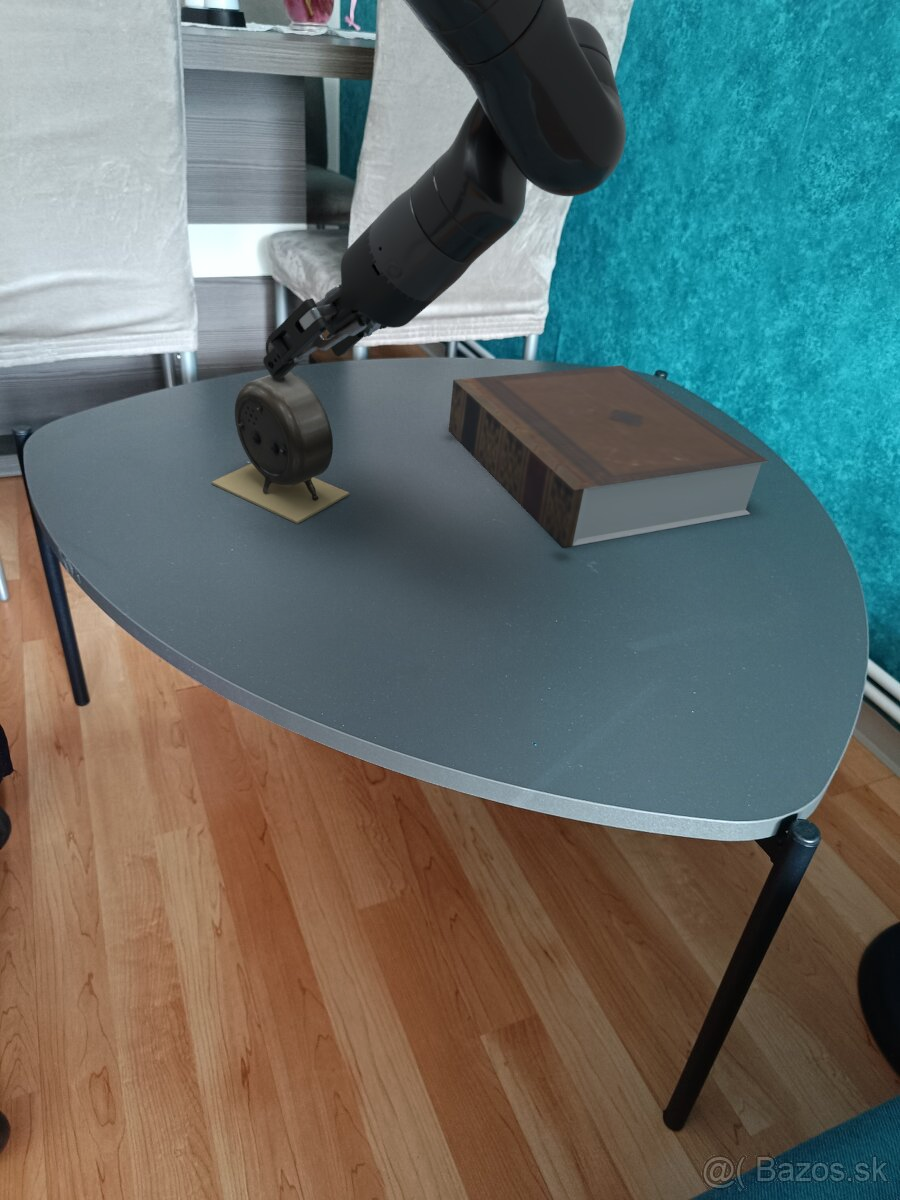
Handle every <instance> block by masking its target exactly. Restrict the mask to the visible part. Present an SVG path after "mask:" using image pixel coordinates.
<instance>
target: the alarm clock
mask: <svg viewBox="0 0 900 1200" xmlns="http://www.w3.org/2000/svg"><path fill="white" fill-rule="evenodd" d="M270 344H271V343H270V341H269V339H268V338H267V339H266V342H265V353H266V355H267V354H268V353H269V352H270V350H269V349H270V348H269V347H270ZM234 420H235V428H236V432H237V435H238V437H239V441H240V443H241V446H242V448H243V450H244V453H245V454H246V456H247V458H248V459H249V461H250V462H251V463H252V464H253V465H254V466H255V468H256V469H257V470H258V471H259V472H260V473H261V474H262V475H263V476H264V477H265V483H264V487H263V493H266V492H267V491H268V488H269V486H270V483H275V484H277V485H280V486H286V487H289V486H294V485H296V484H299V483H301V482H304V483H305V484H306V486H307V488H308V490H309V492H310V493H311V494H312V499H313V500H314V501H316V500H318V499H319V497H318V496H317V495H316V491H315V487H314V485H313V483H312V481H311V479H312V478H313V477H314V478H315V477H318V476H320V475H322V474H323V473H325V472H326V471H327V469H328V468H329V466H330V464H331V461H332V457H333V451H334V450H333V449H334V440H333V439H334V437H333V432H332V428H331V423H330V421H329V417H328V415H327V412H326V410H325V408H324V406H323V403H322V402H321V400H320V398H319V397H318V395H317V393H316V392H315V391H314V390H313V388H312V387H311V385H309V384H308V383H307V382H306V381H305V380H304V379H303V378H301V377H299V376H298V375H297V374H295V373H294V372H291V371H289V372H288V373H287V374H286V375H285V376H284V377H283V378H281V379H278V380H275V379H273V377H272V376H271V374H268V375H265V376H262V377H258V378H256V379H253V380H250V381H248V382H246V383H245V384H244V385H243V386H242V387H241V388H240V390H239V392H238V393H237V396H236V399H235V403H234Z"/></svg>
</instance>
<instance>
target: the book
mask: <svg viewBox="0 0 900 1200" xmlns="http://www.w3.org/2000/svg"><path fill="white" fill-rule="evenodd" d="M448 422H449V423H448V431H449V432H450V434H451V435H452V436H454V438H455V439H457V441H458V442H459V443H460V444H461V445H462V446H463V447H464V448H465V449H466V450H467V451H468V452H469V453H470V454H471V455H472V456H473V457H474V458H475V459H476V460H477V461H478V462H479V463H480V464H481V465H482V466H483V467H484V469H486V471H487V472H488V473H489V474H491V476H492V477H493V478H494V479H495V480H496V481H497V482H498V483H500V485H501V486H502V487H503V488H504V489H505V490H506V491H507V492H508V493H509V494H510V495H511V497H513V498H514V499H515V500H516V501H517V502H518V503H519V504H520V506H522V507H523V509H524V510H526V512H527V513H528V514H529V515H530V516H531V517H532V518H533V519H534V520H535V521H536V522H537V523H538V524H539V525H540V527H542V528H543V529H544V530H545V531H546V532H547V533H548V534H549V535H550V536H551V538H553V539H554V540H555V541H556V543H557V544H558V545H559V546H561V548H562V549H563V548H569V547H575V546H581V545H586V544H591V543H597V542H602V541H609V540H614V539H620V538H625V537H630V536H637V535H641V534H647V533H653V532H658V531H664V530H671V529H675V528H681V527H685V526H686V527H687V526H693V525H698V524H703V523H707V522H708V523H709V522H715V521H719V520H726V519H730V518H735V517H742V516H746V515H748V516H749V515H751V513H750V512H749V511H748V510H747V507H748V505H749V502H750V498H751V496H752V492H753V489H754V486H755V483H756V481H757V477H758V475H759V472H760V471H761V470H760V469H761V467H762V465H763V464H765V463H768V462H769V460H768V459H767V458H765V457H763V456H762V455H760V454H759V453H757V451H754V450H753V449H752V448H750V447H748V446H746V445H745V444H744V443H742V442H741V441H740V440H738V439H737V438H734V437H733V436H732V435H730V434H728V433H727V432H725V431H724V430H723V429H720V427H718V426H716V425H715V424H714V423H711V422H710V421H709V420H708V419H705V418H704V417H702V416H701V415H699V414H698V413H696V412H695V411H693V410H692V409H690V408H689V407H687V406H686V405H684V404H682V403H681V402H680V401H678V400H676V399H675V398H673V397H671V396H670V395H669V394H667V393H666V392H664V391H662V390H661V389H660V388H658V387H656V386H655V385H654V384H652V383H650V382H648V380H646V379H644V378H643V377H641V376H640V375H638V374H636V373H635V372H633V371H632V370H630V369H629V368H628V367H626V366H624V365H623V364H621V365H610V366H599V367H597V366H596V367H588V368H586V367H585V368H574V369H573V368H572V369H563V370H552V371H541V372H540V371H539V372H528V373H516V374H515V373H514V374H504V375H491V376H481V377H480V376H479V377H469V378H458V379H457V378H455V379H453V380H452V392H451V402H450V412H449V421H448Z"/></svg>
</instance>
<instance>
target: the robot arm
mask: <svg viewBox="0 0 900 1200" xmlns="http://www.w3.org/2000/svg"><path fill="white" fill-rule="evenodd" d="M403 2H404V3H405V5H407V7H408V8H409V10H410V11H411V12H412V13H413V15H414V16H415V17H416V18H417V20H418V21H419V22H420V24H421V25H422V27H424V29H425V30H426V31H427V32H428V34H429V35H430V36H431V38H433V40H434V41H435V43H436V44H437V45H438V46H439V47H440V48H441V50H442V51H443V52H444V53H445V54H446V56H447V57H448V59H449V60H450V61H451V62H452V63H453V64H454V65H455V66H456V68H457V69H458V70H459V71H460V72H461V73H462V74H463V75H464V77H465V78H466V80H467V81H468V83H469V84H470V86H471V88H472V90H473V91H474V93H475V95H476V99H475V101H474V103H473V105H472V106H471V108H470V109H469V111H468V113H467V115H466V117H465V118H464V120H463V122H462V124H461V126H460V128H459V130H458V133H457V135H456V136H455V138H454V140H453V142H452V143H451V145H450V146H449V147H448V148H447V150H446V151H445V152H444V153H443V154H442V155H440V156H439V158H437V159H436V161H435V162H433V163H432V165H431V166H430V167H428V169H427V170H425V172H424V173H423V174H422V175H421V176H420V177H419V178H418V179H417V180H416V181H415V182H414V184H413V185H411V186H410V187H409V188H408V189H406V190H405V191H404V192H401V194H400V195H398V196H397V197H396V198H395V199H394V200H393V201H392V202H390V203H389V205H388V206H386V208H385V209H384V210H383V211H382V212H381V213H380V214H379V215H378V216H377V217H376V218H375V219H374V221H372V223H370V225H369V226H368V227H367V228H366V229H365V230H364V231H363V232H362V233H361V234H360V235H359V236H358V237H357V239H356V240H354V241H353V243H352V244H351V245H350V246H349V247H348V248H347V249H346V250H345V251H344V253H343V255H342V256H341V257H342V258H341V261H340V284H338V285H335V286H334V287H333V288H331V289H329V290H328V291H327V292H326V293H325V295H324V297H323V298H322V299H321V300H319V301H318V302H316V301H315V300H314V298H312V297H311V298H307V299H305V300H304V301H302V303H301V304H300V305H299V306H298V307H297V308H296V309H295V310H294V311H293V312H292V313H291V314H290V315H289V316H288V317H287V318H286V319H285V320H284V321H283V322H282V323H280V325H279V326H278V327H276V329H275V330H274V331H273V332H271V333H270V334H269V336H268V337H267V339H269V341H270V343H269V344H271V345H272V347H273V348H272V349H271V350H269V353H268V354H266V355H264V357H263V365H264V366H265V368H266V369H267V371H268V373H269V375H271V376H272V377H273V379H275V380H278V379H281V378H283V377H284V376H285V375H286V374H287V373H288V372H291V371H292V370H293V369H294V368H295V367H296V366H297V365H298V364H299V363H300V362H302V361H304V359H305V358H306V357H308V356H309V355H311V354H313V353H314V352H315V351H317V350H320V351H321V352H326V351H328V350H329V349H331V350H332V352H333V354H334V355H335V356H336V357H341V356H344V355H345V354H347V353H348V352H349V351H350V350H351V349H352V348H353V347H354V346H355V345H357V344H358V343H359V342H360V341H361V340H362V339H363V338H366V337H371V335H373V333H375V332H376V331H378V330H382V329H383V330H384V329H386V328H393V329H395V328H401V327H404V326H405V325H407V324H409V323H410V322H411V321H412V320H413V319H415V318H416V317H417V316H418V315H419V314H420V313H422V311H424V310H425V309H426V308H428V307H429V306H430V305H431V304H432V303H433V302H434V301H436V300H437V299H438V298H439V297H440V296H441V295H442V294H443V293H445V292H446V291H447V290H448V289H449V288H451V286H453V285H454V284H455V283H456V282H457V281H458V280H459V279H460V278H461V277H462V276H463V275H464V274H465V273H466V271H467V270H468V269H469V268H470V267H471V265H472V264H474V263H475V261H477V259H478V258H480V256H482V255H483V254H484V253H486V251H487V250H489V249H490V248H491V247H492V246H493V245H495V243H497V242H498V241H499V240H501V239H502V238H503V237H504V236H505V235H506V234H508V232H510V230H512V229H513V228H514V226H515V225H516V224H517V223H518V221H519V220H520V218H521V217H522V215H523V213H524V210H525V206H526V195H527V183H528V181H529V182H530V183H531V184H532V185H533V186H535V187H537V188H538V189H540V190H541V191H543V192H546V193H548V194H551V195H555V196H560V197H578V196H581V195H585V194H588V193H590V192H592V191H594V190H596V189H598V188H599V187H601V186H602V185H603V184H605V182H606V181H608V180H609V179H610V178H611V176H612V175H613V173H614V172H616V169H617V168H618V166H619V164H620V162H621V160H622V157H623V155H624V151H625V146H626V140H627V139H626V138H627V126H626V125H627V124H626V119H625V114H624V113H625V112H624V110H623V109H624V108H623V106H622V102H621V98H620V94H619V91H618V85H617V82H616V78H615V73H614V70H613V66H612V63H611V58H610V54H609V51H608V48H607V45H606V42H605V41H604V38H603V37H602V35H601V33H600V32H599V31H598V30H597V28H596V27H595V26H594V25H592V24H591V23H590V22H588V21H586V20H585V19H582V18H578V17H574V16H568V14H567V10H566V7H565V3H564V0H403ZM527 180H528V181H527ZM325 332H328V333H329V334H327V336H326V338H324V336H323V335H324V334H325Z"/></svg>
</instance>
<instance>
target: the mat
mask: <svg viewBox="0 0 900 1200" xmlns="http://www.w3.org/2000/svg"><path fill="white" fill-rule="evenodd" d="M311 481H312V483H313V485H314V487H315V491H316V495H317V496H318V497H319V499H318V500H316V501H314V500H313V499H312V494H311V493H310V492H309V490H308V488H307V486H306V484H305V483H304V482H301V483H299V484H296V485H294V486H289V487H286V486H280V485H277V484H275V483H270V486H269V488H268V491H267V492H266V493H263V487H264V483H265V477H264V476H263V475H262V474H261V473H260V472H259V471H258V470H257V469H256V468H255V466H254V465H253V464H252V462H251V463H249V464H247V465H244V466H243V467H240V468H238V469H237V470H234V471H232V472H230V473H227V474H225V475H223V476H221V477H219V478H216V479H215V480H212V481H211V485H213V486H214V487H217V488H219V489H221V490H224V491H226V492H227V493H230V494H232V495H234V496H236V497H238V498H241V499H243V500H245V501H247V502H249V503H251V504H254V505H255V506H258V507H260V508H262V509H264V510H266V511H269V512H271V513H272V514H275V515H277V516H279V517H282V518H284V519H286V520H287V521H289V522H292V523H295V524H297V525H298V524H301V523H302V522H303V521H306V520H307V519H309V518H311V517H313V516H314V515H317V514H318V513H319V512H322V511H323V510H325V509H327V508H328V507H331V506H332V505H334V504H335V503H337V502H339V501H341V500H343V499H345V498H346V497H348V496H349V495H350V492H349V491H346V490H344V489H341V488H339V487H336V486H334V485H332V484H330V483H327V482H325V481H323V480H320V479H318V478H315V477H313V478H312V479H311Z"/></svg>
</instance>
